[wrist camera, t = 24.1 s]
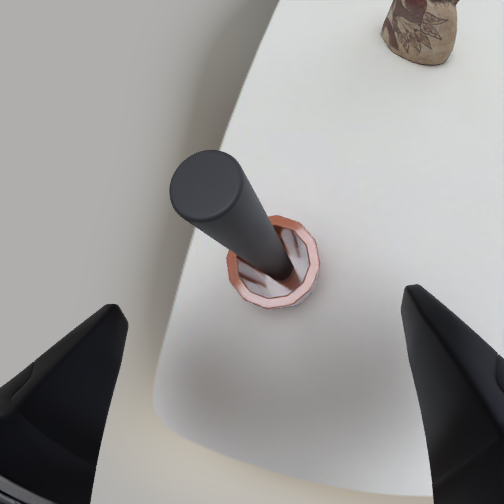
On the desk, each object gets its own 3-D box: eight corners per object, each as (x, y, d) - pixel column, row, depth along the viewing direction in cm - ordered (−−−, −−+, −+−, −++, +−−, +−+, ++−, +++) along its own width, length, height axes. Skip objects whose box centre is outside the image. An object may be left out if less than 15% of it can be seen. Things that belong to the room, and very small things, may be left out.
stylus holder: (322, 301, 18) (326, 299, 14) (254, 312, 19) (233, 313, 14) (310, 233, 19) (309, 208, 14) (244, 245, 20) (222, 225, 15)
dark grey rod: (296, 280, 18) (248, 212, 5) (271, 284, 19) (169, 229, 5) (292, 256, 19) (237, 140, 6) (268, 260, 19) (166, 160, 6)
